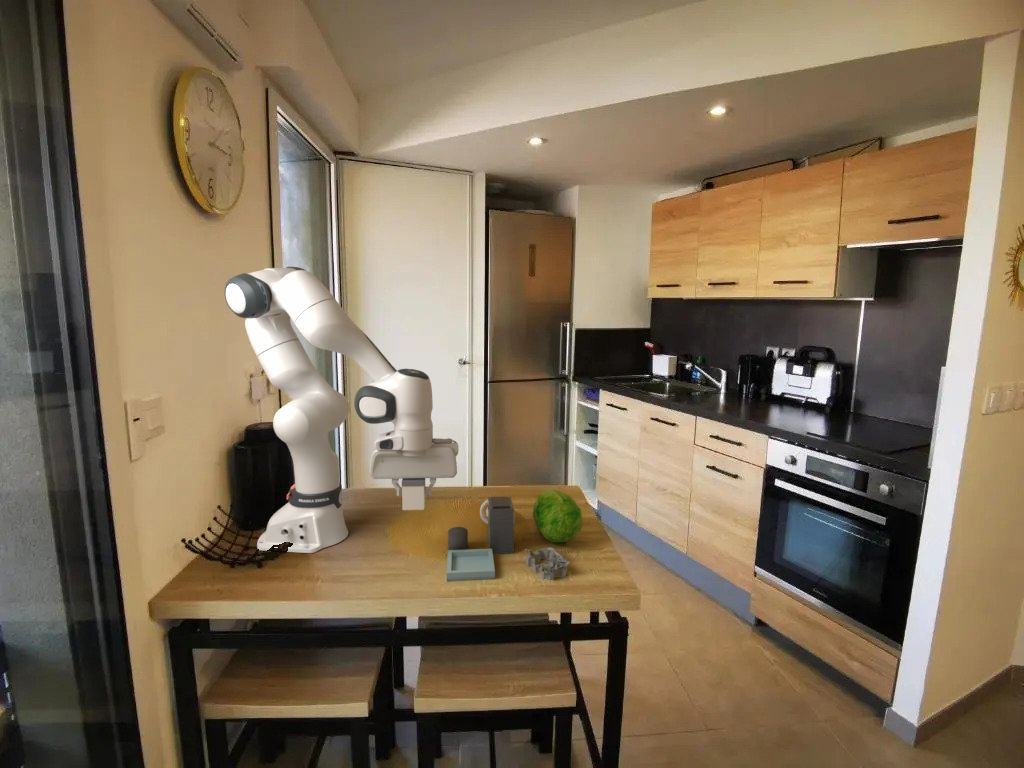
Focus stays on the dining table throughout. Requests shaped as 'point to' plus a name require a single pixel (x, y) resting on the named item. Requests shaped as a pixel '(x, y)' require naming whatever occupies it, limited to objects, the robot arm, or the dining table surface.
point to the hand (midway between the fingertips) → (414, 495)
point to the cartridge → (413, 494)
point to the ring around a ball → (482, 511)
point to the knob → (458, 538)
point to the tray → (470, 565)
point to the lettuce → (557, 516)
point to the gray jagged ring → (547, 563)
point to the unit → (500, 525)
